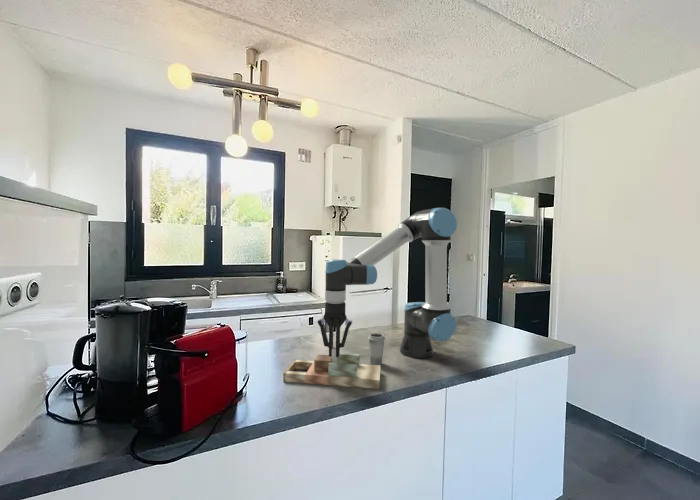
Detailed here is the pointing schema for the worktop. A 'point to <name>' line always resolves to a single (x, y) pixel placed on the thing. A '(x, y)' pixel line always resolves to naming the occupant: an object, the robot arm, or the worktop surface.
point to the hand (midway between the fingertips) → (334, 365)
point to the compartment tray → (335, 373)
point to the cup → (376, 348)
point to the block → (322, 363)
